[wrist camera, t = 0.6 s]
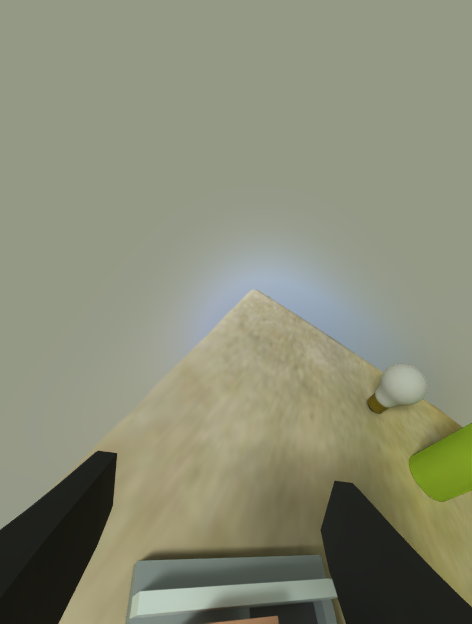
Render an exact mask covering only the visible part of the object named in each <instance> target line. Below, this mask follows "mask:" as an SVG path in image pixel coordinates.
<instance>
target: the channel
mask: <svg viewBox="0 0 472 624" xmlns="http://www.w3.org/2000/svg"><path fill="white" fill-rule="evenodd" d="M335 598H338V597H337V594H336V590H335V587H334V584H333V581H332V578H330V579H326V574H325V570H324V566H323V562H322V558H321V555H298V556H268V557H238V558H208V559H179V560H149V561H137V562H136V563H135V564H134V567H133V574H132V581H131V588H130V595H129V602H128V609H127V616H126V623H125V624H208V623H217V622H226V621H235V620H244V619H253V618H262V617H271V616H278V622H279V624H337V620H336V616H335V612H334V608H333V603H332V599H335Z"/></svg>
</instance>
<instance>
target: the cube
mask: <svg viewBox="0 0 472 624" xmlns="http://www.w3.org/2000/svg"><path fill="white" fill-rule="evenodd" d="M208 624H279V622H278V616H271V617H262V618H253V619H244V620H235V621H226V622H217V623H208Z"/></svg>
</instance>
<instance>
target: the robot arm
mask: <svg viewBox="0 0 472 624" xmlns="http://www.w3.org/2000/svg"><path fill="white" fill-rule="evenodd" d="M116 460H117V453H111V452H103V451H97V452H96V453H94V454H93V455H92V456H91V457H89V458H88V459H87V460H86V461H85V462H84V463H82V464H81V465H80V466H79V467H78V468H77V469H75V470H74V471H73V472H72V473H71V474H70V475H68V476H67V477H66V478H65V479H64V480H63V481H61V482H60V483H59V484H58V485H57V486H55V487H54V488H53V489H52V490H50V491H49V492H48V493H47V494H46V495H44V496H43V497H42V498H41V499H39V500H38V501H37V502H36V503H34V504H33V505H32V506H31V507H29V508H28V509H27V510H26V511H24V512H23V513H22V514H20V515H19V516H18V517H16V518H15V519H14V520H12V521H11V522H10V523H9V524H7V525H6V526H5V527H3V528H2V529H1V530H0V624H58V623H59V621H60V619H61V617H62V615H63V613H64V611H65V609H66V607H67V605H68V603H69V601H70V599H71V597H72V595H73V593H74V591H75V589H76V587H77V585H78V583H79V581H80V579H81V577H82V575H83V573H84V571H85V569H86V567H87V565H88V563H89V561H90V559H91V557H92V555H93V553H94V551H95V549H96V547H97V545H98V542H99V540H100V537H101V535H102V532H103V530H104V527H105V525H106V522H107V519H108V517H109V514H110V512H111V509H112V506H113V497H114V485H115V472H116ZM321 534H322V539H323V544H324V549H325V553H326V558H327V562H328V567H329V571H330V574H331V577H332V581H333V584H334V587H335V590H336V594H337V597H338V600H339V603H340V606H341V609H342V613H343V616H344V619H345V622H346V624H472V607H471V606H470V605H469V604H468V603H467V602H466V601H465V600H464V599H463V598H461V597H460V596H459V595H458V594H457V593H456V592H455V591H454V590H453V589H452V588H451V587H450V586H449V585H448V584H447V583H446V582H445V581H444V580H443V579H442V578H441V577H440V576H439V575H438V574H437V573H436V572H435V571H434V570H433V569H432V568H431V567H430V566H429V565H428V564H427V563H426V562H425V560H424V559H423V558H422V557H421V556H420V555H419V554H418V553H417V552H416V551H415V550H414V549H413V548H412V547H411V546H410V545H409V544H408V543H407V542H406V541H405V539H404V538H403V537H402V536H401V535H400V534H399V533H398V532H397V531H396V530H395V529H394V528H393V526H392V525H391V524H390V523H389V522H388V521H387V520H386V519H385V518H384V517H383V516H382V514H381V513H380V512H379V511H378V510H377V509H376V508H375V507H374V506H373V505H372V503H371V502H370V501H369V500H368V499H367V498H366V497H365V496H364V495H363V494H362V493H361V491H360V490H359V489H358V488H357V487H356V486H355V485H354V484H353V483H348V482H340V481H334V485H333V489H332V492H331V496H330V499H329V503H328V506H327V510H326V513H325V517H324V520H323V524H322V527H321Z"/></svg>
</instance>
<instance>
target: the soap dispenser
mask: <svg viewBox="0 0 472 624" xmlns="http://www.w3.org/2000/svg"><path fill="white" fill-rule="evenodd" d="M409 466H410V470H411V473H412V475H413V477H414V479H415V480H416V482H417V483H418V485H419V486H420V487H421V488H422V490H423V491H424V492H425V493H426V494H428V495H429V496H430V497H431V498H433V499H435V500H437V501H440V502H444V501H447V500H449V499H452V498H454V497H457V496H459V495H462V494H464V493H467V492H469V491H472V423H471V424H469V425H467V426H465V427H463V428H462V429H460V430H458V431H456V432H454V433H453V434H451V435H449V436H447V437H445V438H444V439H442V440H440V441H438V442H437V443H435V444H433V445H431V446H429V447H428V448H426V449H424V450H422V451H420V452H419V453H417V454H415V455H413V456H412V457H411V458H410V460H409Z"/></svg>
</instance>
